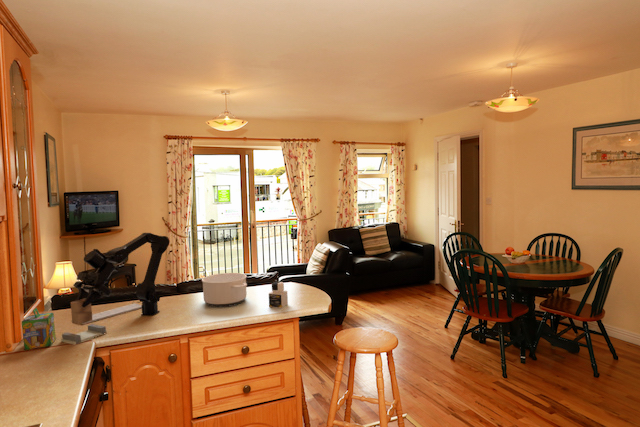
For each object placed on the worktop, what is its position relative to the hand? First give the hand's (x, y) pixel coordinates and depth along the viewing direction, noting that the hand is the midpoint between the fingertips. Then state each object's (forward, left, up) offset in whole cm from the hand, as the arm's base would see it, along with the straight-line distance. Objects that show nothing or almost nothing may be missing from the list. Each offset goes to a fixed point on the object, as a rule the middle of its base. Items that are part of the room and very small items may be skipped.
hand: (79, 306), depth 170 cm
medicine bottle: (-73, -47, -14) cm, 88 cm away
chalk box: (+12, +8, -14) cm, 20 cm away
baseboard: (+10, -32, -14) cm, 36 cm away
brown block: (0, -1, -7) cm, 7 cm away
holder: (-1, 0, -13) cm, 13 cm away
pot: (-43, -52, -14) cm, 69 cm away
